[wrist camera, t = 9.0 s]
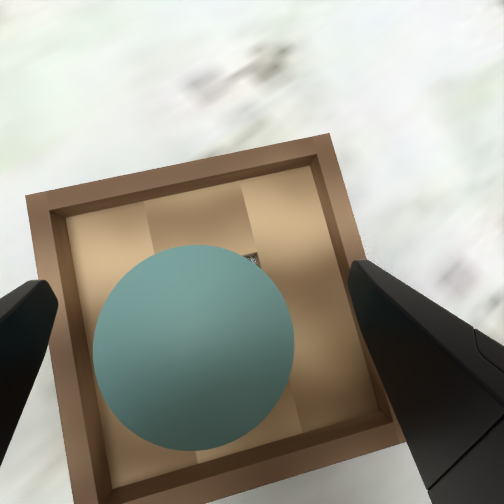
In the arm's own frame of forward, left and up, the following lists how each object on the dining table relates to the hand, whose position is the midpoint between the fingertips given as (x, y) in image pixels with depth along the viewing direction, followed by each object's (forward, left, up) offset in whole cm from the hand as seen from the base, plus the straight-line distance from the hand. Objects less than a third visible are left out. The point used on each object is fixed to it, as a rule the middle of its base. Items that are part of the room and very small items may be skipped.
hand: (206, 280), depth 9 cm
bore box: (-1, 0, -10) cm, 10 cm away
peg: (-1, 0, -10) cm, 10 cm away
